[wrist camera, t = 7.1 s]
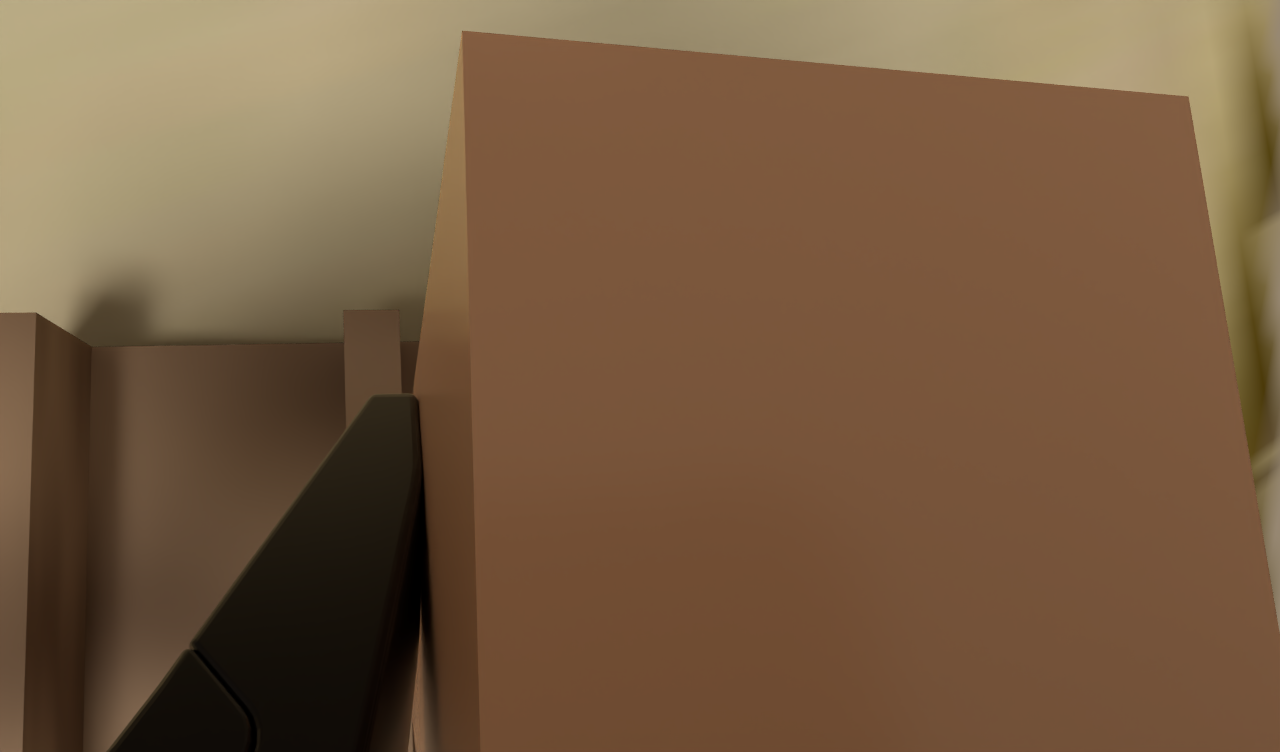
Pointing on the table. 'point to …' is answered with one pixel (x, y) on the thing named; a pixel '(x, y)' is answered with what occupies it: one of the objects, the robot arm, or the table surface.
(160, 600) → the slotted wooden tray
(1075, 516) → the clay slab
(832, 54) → the table surface
